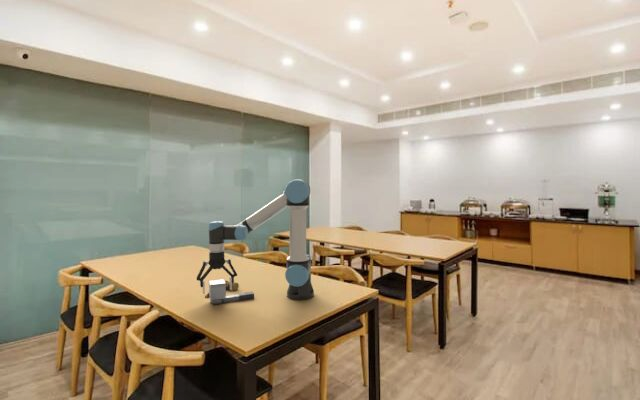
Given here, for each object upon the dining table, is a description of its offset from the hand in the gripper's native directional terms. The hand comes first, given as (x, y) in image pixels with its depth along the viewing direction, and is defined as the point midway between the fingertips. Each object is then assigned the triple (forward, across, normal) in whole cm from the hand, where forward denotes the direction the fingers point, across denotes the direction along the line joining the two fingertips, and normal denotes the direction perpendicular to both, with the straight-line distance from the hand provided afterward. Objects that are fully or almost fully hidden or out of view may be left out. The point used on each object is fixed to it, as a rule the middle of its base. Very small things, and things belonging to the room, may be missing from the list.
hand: (217, 291), depth 169 cm
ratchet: (+6, -8, 0) cm, 10 cm away
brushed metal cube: (+3, 0, 0) cm, 3 cm away
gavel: (+7, -3, -16) cm, 18 cm away
